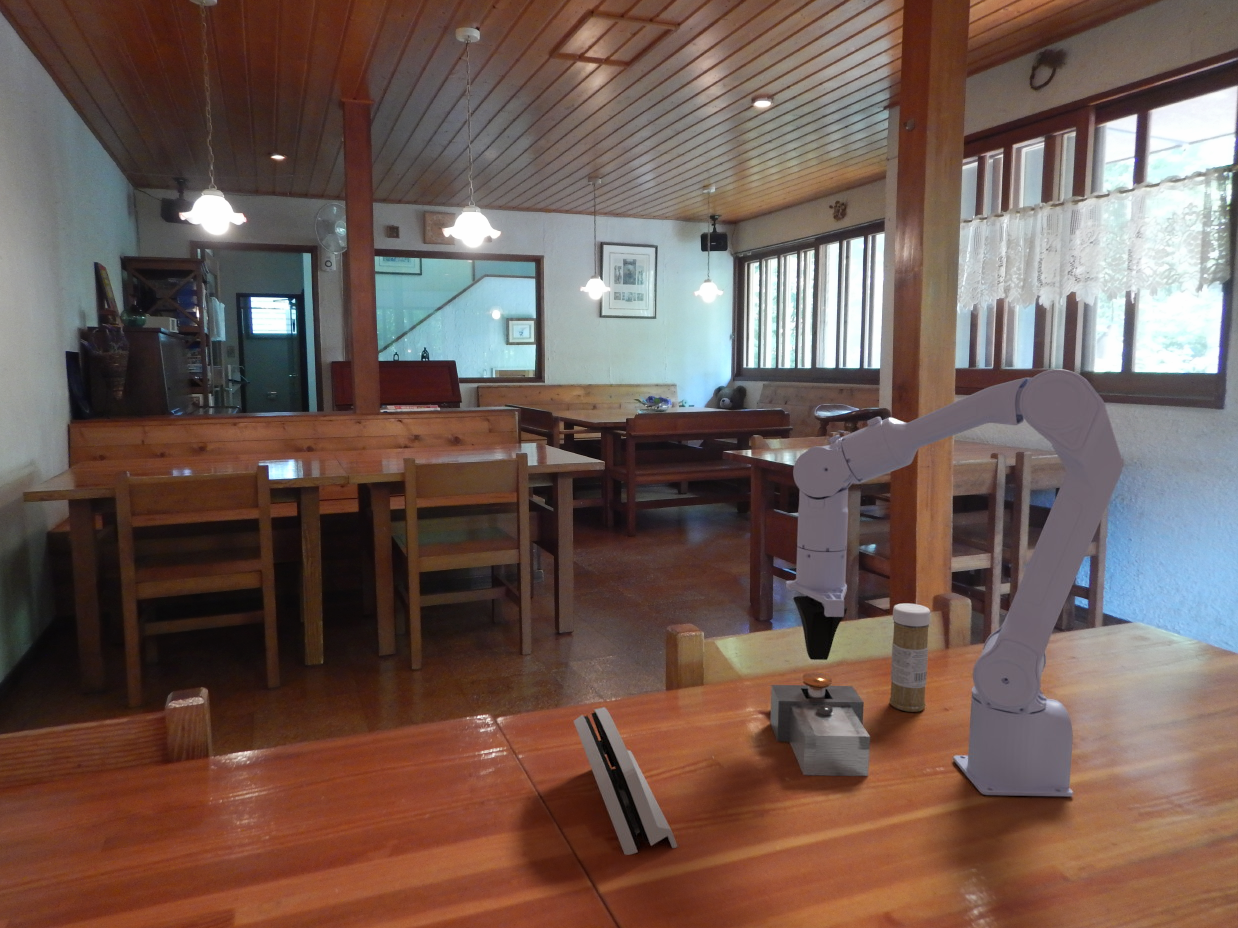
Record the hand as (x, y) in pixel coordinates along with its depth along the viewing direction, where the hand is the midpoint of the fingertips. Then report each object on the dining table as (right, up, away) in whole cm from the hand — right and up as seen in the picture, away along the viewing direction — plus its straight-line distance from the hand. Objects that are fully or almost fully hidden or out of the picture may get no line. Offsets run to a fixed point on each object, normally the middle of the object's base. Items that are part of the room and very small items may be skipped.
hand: (817, 657), depth 96 cm
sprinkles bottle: (+14, -9, +9) cm, 19 cm away
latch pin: (0, -7, +1) cm, 7 cm away
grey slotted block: (-24, -11, -16) cm, 31 cm away
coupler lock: (0, -10, -5) cm, 11 cm away
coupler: (0, -9, +1) cm, 10 cm away
